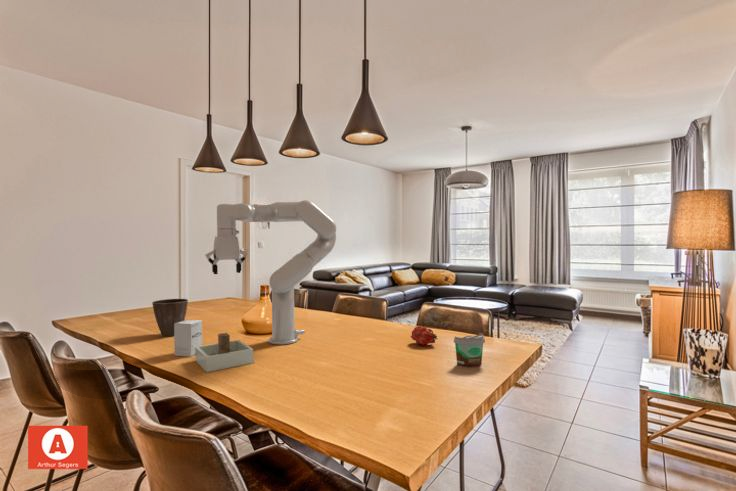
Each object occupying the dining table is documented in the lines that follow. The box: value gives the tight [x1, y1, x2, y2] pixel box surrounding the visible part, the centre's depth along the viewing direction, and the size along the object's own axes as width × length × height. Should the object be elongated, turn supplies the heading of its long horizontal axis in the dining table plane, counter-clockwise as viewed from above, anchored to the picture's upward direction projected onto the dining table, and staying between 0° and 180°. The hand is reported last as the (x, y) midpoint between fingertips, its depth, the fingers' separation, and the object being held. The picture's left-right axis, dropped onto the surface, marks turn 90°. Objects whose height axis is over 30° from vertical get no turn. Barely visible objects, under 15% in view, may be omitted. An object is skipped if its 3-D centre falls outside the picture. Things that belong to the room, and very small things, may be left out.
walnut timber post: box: [217, 332, 231, 354], centre depth 139 cm, size 3×4×9 cm
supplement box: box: [173, 319, 203, 358], centre depth 150 cm, size 7×7×13 cm
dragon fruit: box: [410, 325, 438, 347], centre depth 160 cm, size 8×8×12 cm
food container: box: [453, 332, 486, 368], centre depth 133 cm, size 12×6×10 cm, turn 117°
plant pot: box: [151, 298, 189, 337], centre depth 180 cm, size 15×15×16 cm
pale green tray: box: [194, 339, 254, 373], centre depth 140 cm, size 16×16×5 cm
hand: (227, 273), depth 164 cm, fingers open, 9 cm apart
